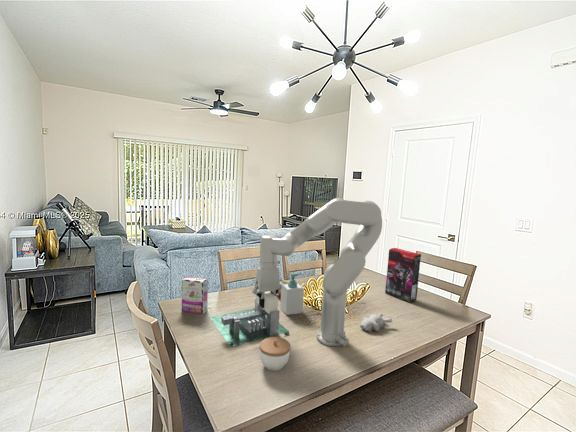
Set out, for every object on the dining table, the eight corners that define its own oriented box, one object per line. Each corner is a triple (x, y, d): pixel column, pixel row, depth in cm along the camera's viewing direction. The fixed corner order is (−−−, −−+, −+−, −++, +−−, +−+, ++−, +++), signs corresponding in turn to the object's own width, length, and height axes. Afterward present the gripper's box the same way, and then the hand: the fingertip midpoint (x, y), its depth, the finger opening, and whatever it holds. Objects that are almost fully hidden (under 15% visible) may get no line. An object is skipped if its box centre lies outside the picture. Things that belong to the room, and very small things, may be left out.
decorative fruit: (291, 295, 171) (292, 277, 170) (284, 299, 164) (284, 281, 163) (278, 291, 176) (278, 274, 174) (269, 295, 169) (270, 278, 168)
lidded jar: (288, 356, 112) (290, 332, 111) (289, 375, 101) (291, 349, 100) (259, 356, 112) (260, 332, 110) (257, 374, 101) (258, 348, 100)
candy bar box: (207, 311, 145) (208, 278, 143) (202, 316, 140) (203, 282, 138) (187, 308, 148) (187, 275, 146) (181, 312, 143) (181, 279, 141)
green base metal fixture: (289, 333, 128) (290, 309, 127) (230, 349, 115) (231, 322, 113) (260, 308, 151) (261, 287, 150) (209, 319, 138) (209, 296, 136)
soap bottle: (303, 313, 149) (305, 275, 146) (286, 315, 146) (288, 276, 143) (296, 305, 157) (298, 270, 154) (280, 307, 154) (281, 271, 151)
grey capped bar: (272, 315, 130) (272, 310, 130) (224, 326, 119) (224, 320, 119) (268, 312, 133) (268, 306, 133) (221, 322, 122) (221, 316, 122)
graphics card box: (383, 293, 181) (388, 248, 177) (390, 291, 185) (395, 247, 181) (410, 303, 167) (415, 255, 164) (417, 300, 171) (422, 253, 168)
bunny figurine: (355, 318, 138) (378, 308, 145) (355, 328, 139) (378, 317, 146) (371, 327, 130) (394, 316, 137) (371, 338, 131) (394, 326, 138)
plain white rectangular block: (277, 312, 126) (278, 298, 125) (269, 314, 124) (269, 300, 123) (264, 300, 137) (264, 288, 136) (256, 302, 135) (256, 289, 134)
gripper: (281, 260, 135) (279, 299, 138) (246, 264, 127) (245, 306, 129) (289, 264, 129) (287, 305, 131) (254, 269, 120) (252, 313, 123)
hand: (266, 305), depth 130 cm, fingers closed on plain white rectangular block, 3 cm apart
